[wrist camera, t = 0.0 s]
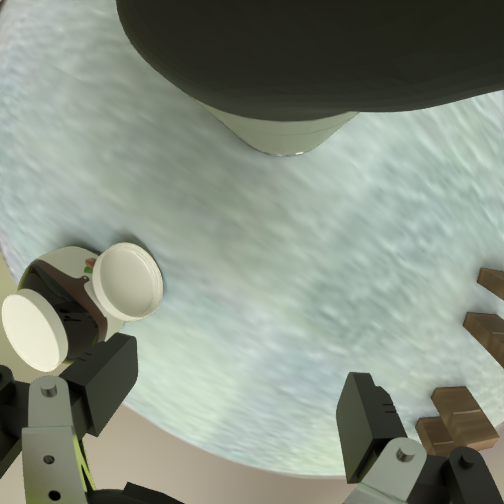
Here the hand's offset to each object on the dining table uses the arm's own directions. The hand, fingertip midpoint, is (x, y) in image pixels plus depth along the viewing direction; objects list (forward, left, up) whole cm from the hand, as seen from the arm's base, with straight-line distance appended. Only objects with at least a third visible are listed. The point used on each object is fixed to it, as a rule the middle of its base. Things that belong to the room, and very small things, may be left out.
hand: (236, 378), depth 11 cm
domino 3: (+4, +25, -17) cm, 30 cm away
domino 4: (+14, +25, -17) cm, 33 cm away
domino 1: (+19, +25, -17) cm, 36 cm away
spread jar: (+5, -15, -18) cm, 24 cm away
